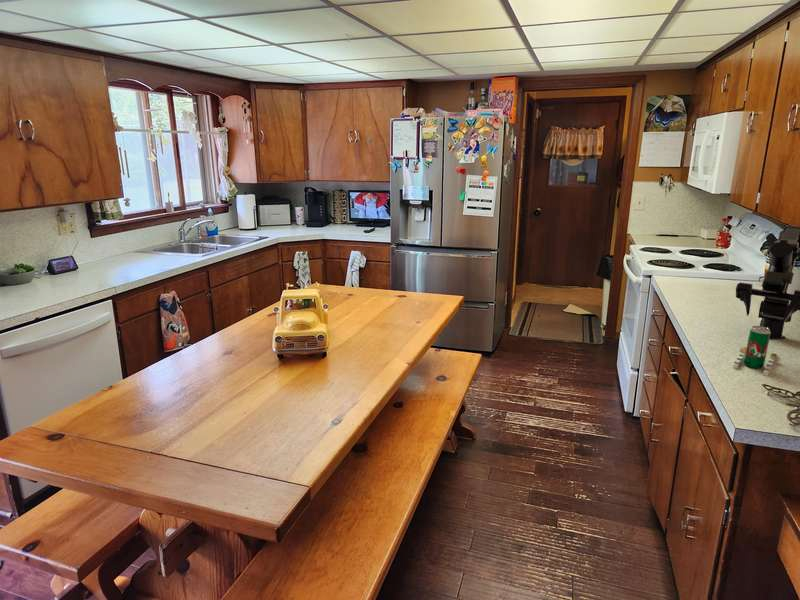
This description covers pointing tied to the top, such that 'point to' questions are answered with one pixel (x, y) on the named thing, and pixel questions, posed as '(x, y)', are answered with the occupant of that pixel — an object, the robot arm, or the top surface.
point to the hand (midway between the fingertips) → (765, 318)
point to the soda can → (757, 347)
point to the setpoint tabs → (773, 356)
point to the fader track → (744, 356)
